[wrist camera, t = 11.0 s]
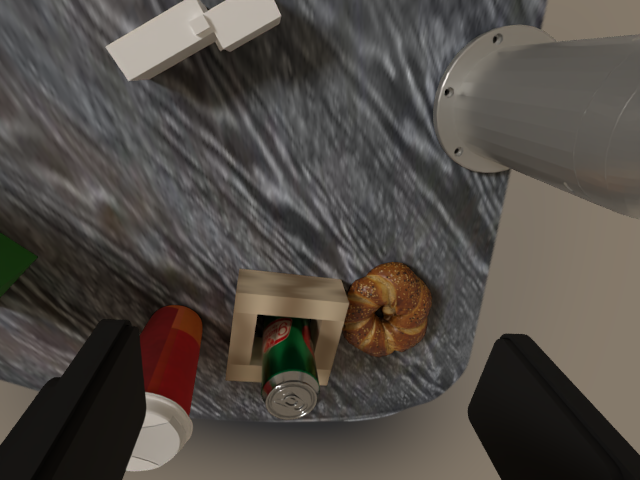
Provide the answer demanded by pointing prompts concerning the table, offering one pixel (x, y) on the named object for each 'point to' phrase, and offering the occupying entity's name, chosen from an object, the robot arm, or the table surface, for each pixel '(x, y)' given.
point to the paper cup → (167, 384)
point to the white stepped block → (190, 34)
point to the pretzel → (387, 310)
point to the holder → (289, 301)
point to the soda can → (288, 367)
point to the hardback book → (12, 262)
